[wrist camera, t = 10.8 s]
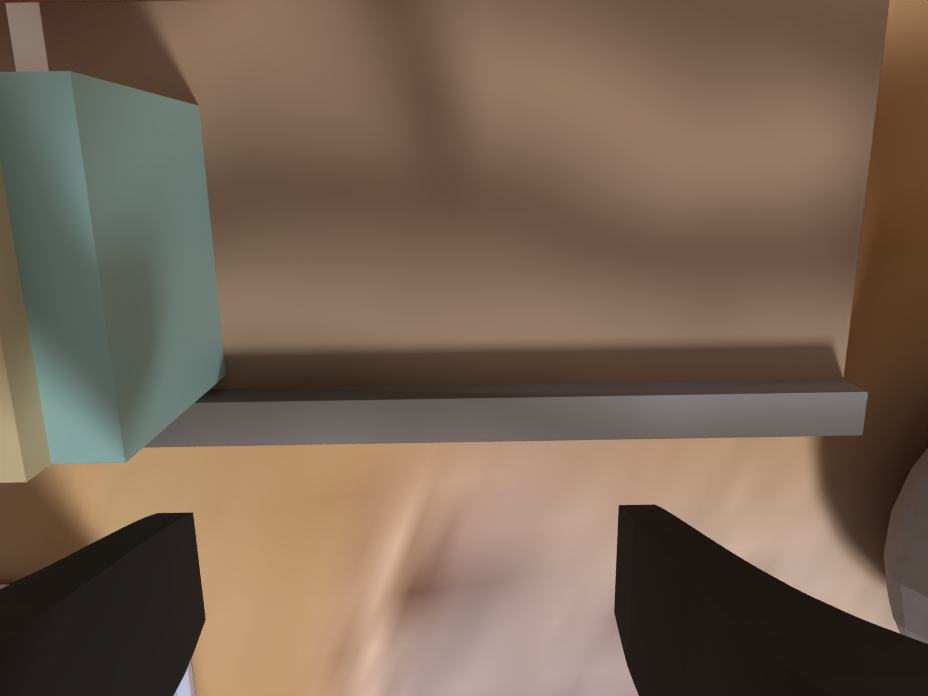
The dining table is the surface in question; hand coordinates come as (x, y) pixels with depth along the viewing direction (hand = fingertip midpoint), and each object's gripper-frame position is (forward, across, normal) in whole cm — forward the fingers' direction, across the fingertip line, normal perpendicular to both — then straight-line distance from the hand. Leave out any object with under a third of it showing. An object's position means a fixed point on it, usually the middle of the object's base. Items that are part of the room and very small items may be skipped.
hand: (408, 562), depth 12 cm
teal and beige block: (+8, +8, -5) cm, 12 cm away
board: (+9, 0, -5) cm, 11 cm away
